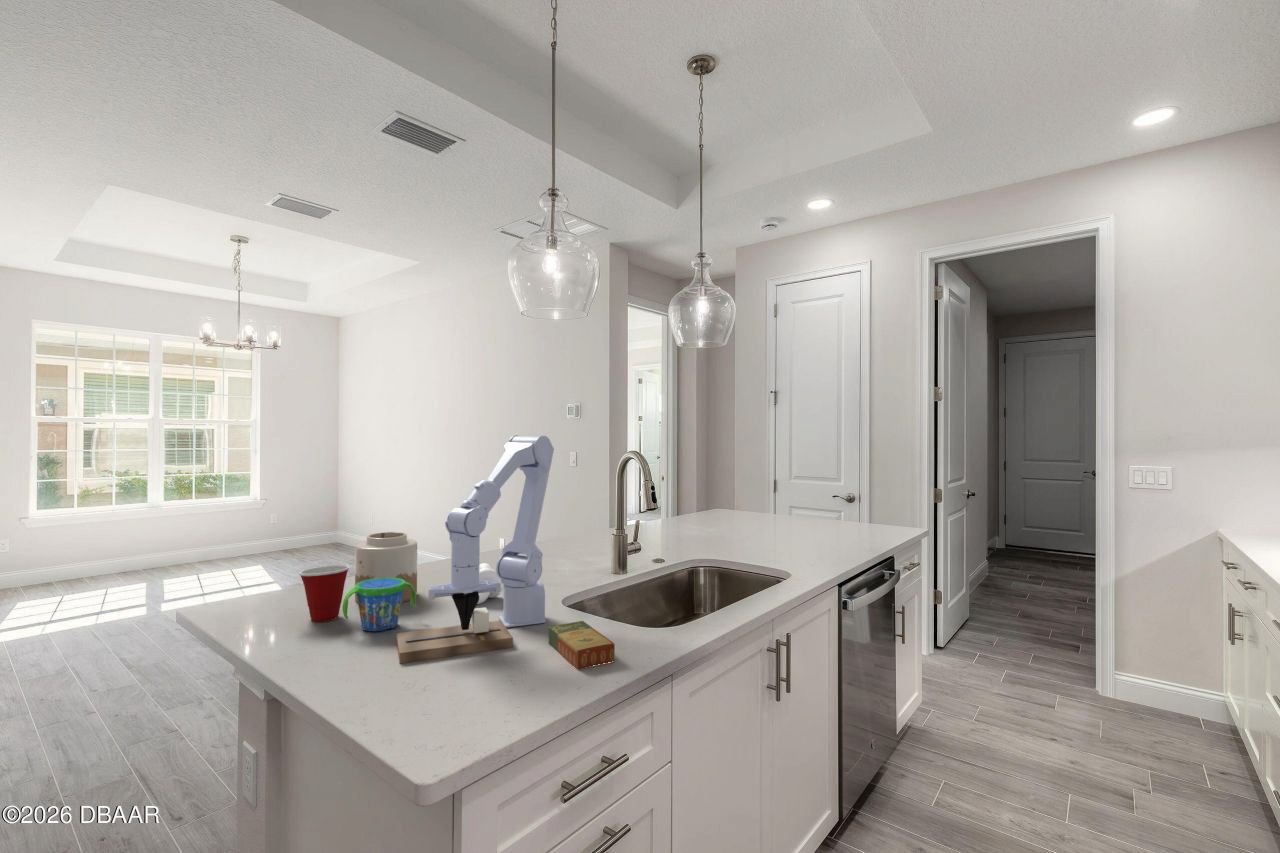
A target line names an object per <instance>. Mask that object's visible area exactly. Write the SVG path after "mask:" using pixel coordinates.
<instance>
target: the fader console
mask: <svg viewBox="0 0 1280 853" xmlns="http://www.w3.org/2000/svg"><path fill="white" fill-rule="evenodd" d="M513 639H514V637H513V636H512V635H511V633H510V631H509V630H508V627H507V628H506V627H505V625H504V624H503V622H502V621H501V620H495V621H493V620H492V621H489V631H488V632H480V633H474V632H473V630H472V628H471V623H470V624H469V629H468V630H462V628H461V625H454V626H447V627H446V626H445V627H437V628H428V629H423V630H413V631H405V632H398V633H396V646H397V655H398V661H399V664H405V663H412V662H418V661H419V662H420V661H426V660H432V659H433V660H434V659H441V658H448V657H454V656H461V655H467V654H474V653H482V652H488V651H495V650H500V649H501V650H503V649H510V648H513V647H514V646H513V644H514V640H513Z"/></svg>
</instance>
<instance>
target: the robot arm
mask: <svg viewBox="0 0 1280 853" xmlns="http://www.w3.org/2000/svg"><path fill="white" fill-rule="evenodd" d="M503 448H504V449H503V452H504V453H503V455H502V456H501V458H500V459H499V461H498V462H497V464H496V466H495V467H494V469H493V470H492V472H491V474H489V476H488V478H487V479H485V480H480V481H479V482H476V483H475V484H474V486H473V489H472V491H471V492H470V493H469V494H468V496H467V497H466V498H465V499H464V501H463V502H462V504H460V506H459V507H455V508H453V509H452V510H451V511H450V512H449V514H448V515H447V518H446V519H447V520H445V521H444V522H445V523H444V524H445V528H446V530H447V532H448V534H449V541H450V542H451V559H450V560H451V564H450V565H451V566H450V567H451V568H450V569H451V573H450V575H451V576H450V578H451V579H450V581H451V583H449V584H448V583H447V584H443V585H438V586H437V585H436V586H431V587H428V599H429V600H433V599H436V598H444V597H451V598H452V600H453V603H454V605H455V607H456V610H457V612H458V617H459V620H460V621H459V622H460V626H461V628H462V630H468V629H469V624H471V623H470V622H471V617H472V614H473V611H474V609H475V608H477V605H478V604H477V603H478V601H479V595H478V593H484V592H494V591H495V592H500V591H501V583H503V584H504V587H503V604H502V605H503V608H502V609H503V614H501V615H499V616H498V618H499V621H502V622H503V624H504V625H505V627H506V628H507V629H508V628H513V627H521V626H530V625H537V624H545V623H546V621H547V620H546V591H545V586H544V582H542V581H539V580H540V578H541V577H542V574H543V552H542V550H541V549H540V548H539V547H538V546H537V545H536V542H537V536H538V531H539V525H540V521H541V516H542V511H543V505H544V500H545V497H546V492H547V486H548V482H549V476H550V470H551V466H552V460H553V457H554V456H553V455H554V450H555V449H554V447H553V444H552V442H551V440H550V438H549V437H547V435H539V436H538V435H518V434H514V435H512V436H511V437H510V438H509V439H508V441H507V442H506V443H505V444H504V446H503ZM518 469H519V470H520V471H522V472H523V474H524V475H525V479H524V484H523V488H522V494H521V498H520V502H519V508H518V513H517V518H516V523H515V527H514V533H513V537H512V540H510V542H508V543H507V544H506V545H504V546H503V547H502V552H501V555H500V556H499V558H498V560H497V561H496V562H497V563H496V566H495V567H496V568H495V571H497V575H498V577H499V578H500V579H501V583H500V582H499V581H479V565H480V547H481V546H480V536H481V534H482V533H483V532H484V531H485V529H486V526H487V521H488V520H487V519H489V513H490V512H491V511H492V509H493V508H494V507H495V505H496V503H497V502H498V501H499V499H500V498H501V496H502V494H501V489H502V487H503V486H504V485H505V483H506V482H508V480H509V479H510V478H511V477H512V475H513V474H514V473H515V472H516V471H517V470H518ZM519 554H520V555H519ZM521 554H523V555H521Z"/></svg>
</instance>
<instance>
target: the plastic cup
mask: <svg viewBox="0 0 1280 853" xmlns="http://www.w3.org/2000/svg"><path fill="white" fill-rule="evenodd" d="M349 570H350V565H346V564H342V565H341V564H339V565H337V564H336V565H324V566H320V567H319V566H318V567H311V568H309V569H304V570H301V571H299V572H298V575H299V576H300V578H301V580H302V583H303V586H304V592H305V598H306V603H307V607H308V610H309V617H310V619H311V621H312V622H316V623H323V622H330V621H334V620H336V619H337V618H339V615H340V611H341V609H340V608H341V604H342V603H343V602H342V600H343V595H344V591H345V590H344V589H345V584H346V579H347V575H348V572H349Z"/></svg>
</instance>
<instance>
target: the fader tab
mask: <svg viewBox="0 0 1280 853" xmlns="http://www.w3.org/2000/svg"><path fill="white" fill-rule="evenodd" d="M470 622H471V623H470V624H471V628H472V630H473V632H474V633H480V632H488V631H489V622H490V612H489V610H488V609H487V606H486V607H475V609H474V611H473V614H472V617H471V620H470Z"/></svg>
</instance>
